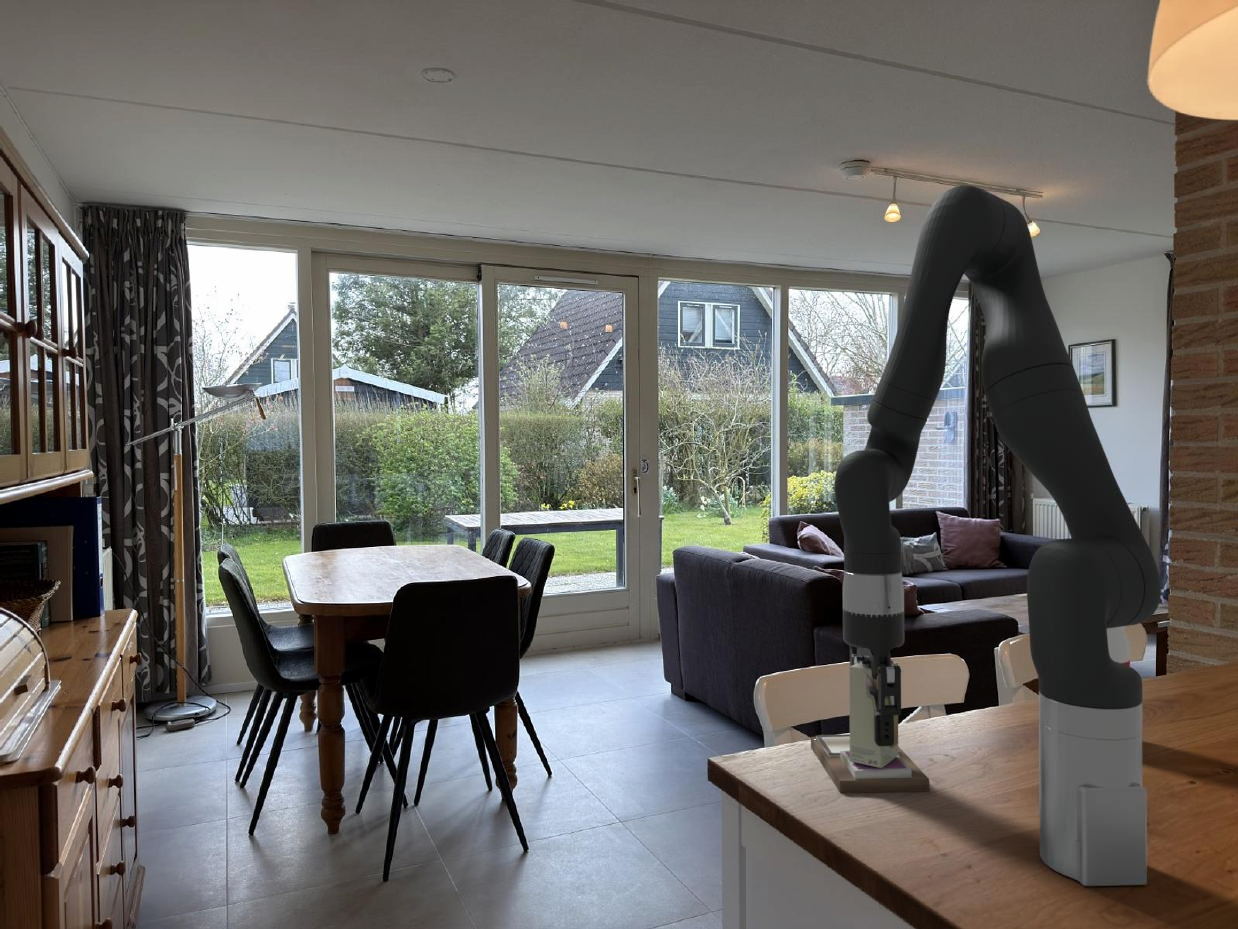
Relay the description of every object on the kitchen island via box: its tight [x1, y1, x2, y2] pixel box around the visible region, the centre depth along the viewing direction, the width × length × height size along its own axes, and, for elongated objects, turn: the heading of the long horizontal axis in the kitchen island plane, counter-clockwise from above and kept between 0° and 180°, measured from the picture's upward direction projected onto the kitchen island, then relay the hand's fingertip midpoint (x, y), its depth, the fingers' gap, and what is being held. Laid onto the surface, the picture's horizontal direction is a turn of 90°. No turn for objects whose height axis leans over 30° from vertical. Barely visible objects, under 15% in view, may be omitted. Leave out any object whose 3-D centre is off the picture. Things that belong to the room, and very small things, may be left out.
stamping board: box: [810, 733, 930, 794], centre depth 115 cm, size 16×11×3 cm
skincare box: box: [848, 661, 899, 768], centre depth 111 cm, size 6×4×12 cm
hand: (874, 734), depth 111 cm, fingers closed on skincare box, 7 cm apart
